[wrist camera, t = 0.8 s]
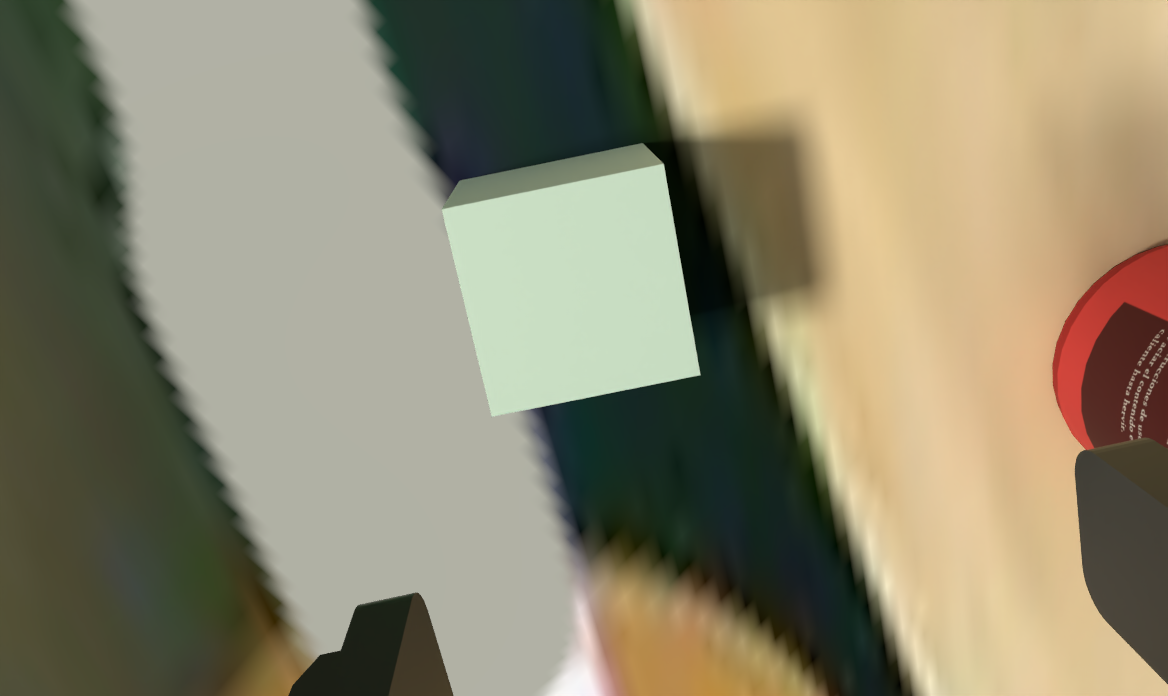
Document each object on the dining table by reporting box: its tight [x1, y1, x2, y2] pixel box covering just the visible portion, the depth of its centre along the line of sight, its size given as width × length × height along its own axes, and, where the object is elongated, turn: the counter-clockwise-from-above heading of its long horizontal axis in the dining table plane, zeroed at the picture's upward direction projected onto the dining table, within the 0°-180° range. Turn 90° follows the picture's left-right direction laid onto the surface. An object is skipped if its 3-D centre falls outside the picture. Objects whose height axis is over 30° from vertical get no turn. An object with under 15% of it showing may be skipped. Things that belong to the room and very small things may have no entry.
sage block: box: [442, 143, 700, 416], centre depth 28 cm, size 6×6×6 cm
